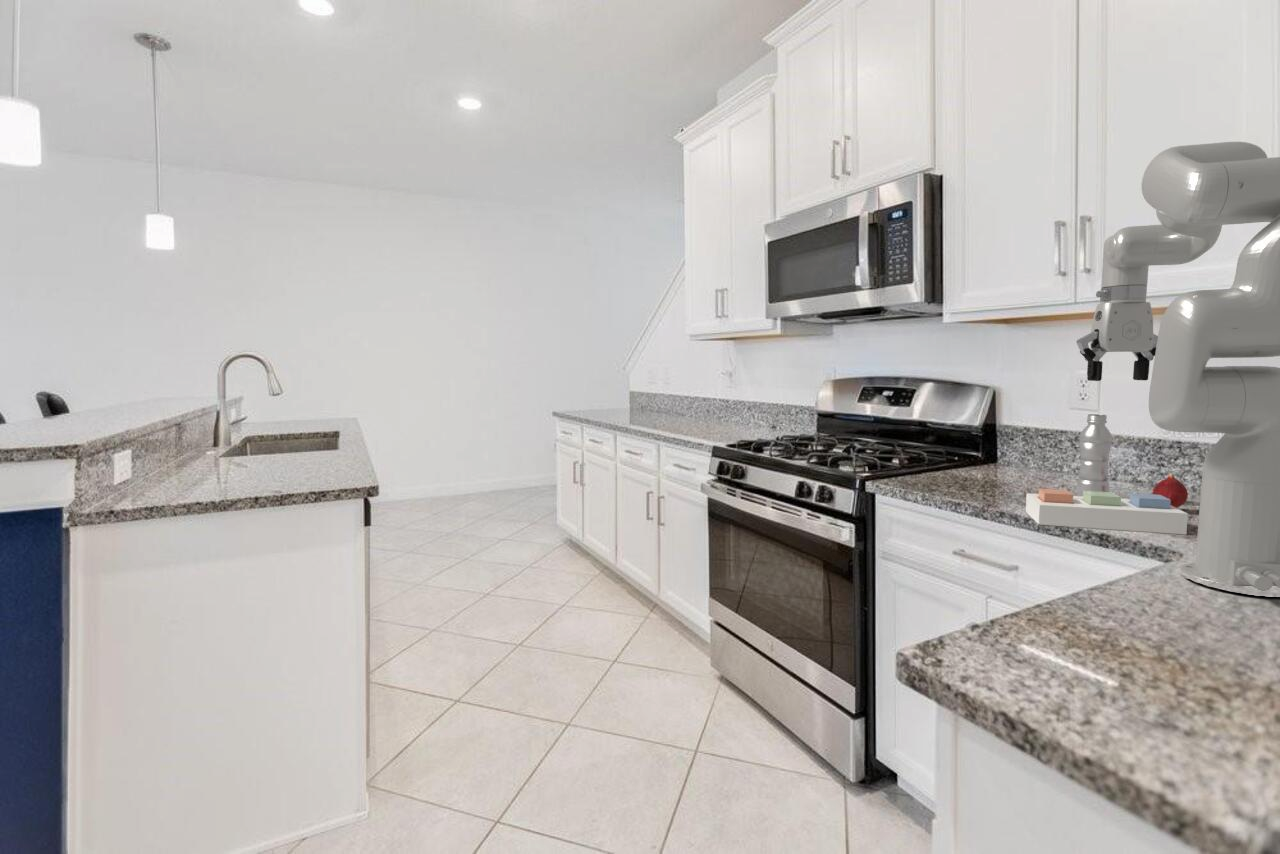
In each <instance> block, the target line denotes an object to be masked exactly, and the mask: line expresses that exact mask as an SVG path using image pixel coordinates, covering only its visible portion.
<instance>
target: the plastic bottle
mask: <svg viewBox="0 0 1280 854" xmlns="http://www.w3.org/2000/svg"><path fill="white" fill-rule="evenodd" d="M1107 416H1108V415H1107V414H1099V413H1098V414H1095V413H1094V414H1093V413H1092V414H1089V413H1087V419H1086V423H1087V424H1086V426H1085V427H1084V428H1083V429H1082V431H1081V432H1080V433H1079V436H1078V437H1079V438H1078V439H1079V440H1078V441H1079V450H1080V452H1079V453H1080V467H1079V474H1078V478H1077V481H1076V485H1075V491H1076V495H1077V496H1083V491H1095V492H1111V490H1110V482H1109V468H1108V466H1109V459H1110V453H1111V447H1112V442H1113V436H1112V435H1113V434H1111V432H1110V430H1109V428H1108V427H1107V426H1106V424H1107V422H1108V421H1107V418H1108V417H1107Z"/></svg>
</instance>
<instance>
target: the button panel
mask: <svg viewBox="0 0 1280 854" xmlns="http://www.w3.org/2000/svg"><path fill="white" fill-rule="evenodd" d="M1038 494H1039V493H1027V492H1026V497H1025V498H1026V499H1025V513H1027V514H1028V516H1029V517H1030V518H1031V519H1033V521H1035V523H1037V525H1042V526H1055V527H1056V526H1057V527H1068V528H1083V529H1084V528H1085V529H1098V530H1114V531H1126V532H1127V531H1128V532H1141V533H1142V532H1143V533H1156V534H1158V533H1159V534H1170V535H1172V534H1174V535H1187V529H1188V521H1189V520H1188V517H1189V514H1188V512H1186V511H1183V510H1182V509H1179V508H1175V507H1173V506H1171V505H1170V509H1155V508H1138V507H1136V506H1134V505H1132V504H1130V503H1129V500H1130V498H1122V497H1121V505H1120V506H1103V505H1089V504H1087V503H1086V502H1084V501H1083V496H1078V495H1073V504H1068V503H1050V502H1042V501H1041V500H1040V499H1039V498H1038Z"/></svg>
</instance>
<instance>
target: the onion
mask: <svg viewBox="0 0 1280 854" xmlns="http://www.w3.org/2000/svg"><path fill="white" fill-rule="evenodd" d="M1152 494H1154V495H1162V496H1164V497H1166V498H1168V499H1170V500H1171V504H1170V505H1171V506H1173V507H1175V508H1177V509H1179V507H1181V506H1182V505H1184V504H1185V503H1186V502H1187V499H1188V495H1189V493H1188V490H1187V488H1186V487H1185V485H1184V484H1183V483H1182V482H1181V481H1179V480H1177V478H1176V477H1175V475H1174V474H1171V473H1169V474H1168V475H1167V478H1164V479H1162V480H1161V481H1159V482H1157V483H1156V484H1155V486H1154V487H1153V490H1152Z"/></svg>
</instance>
